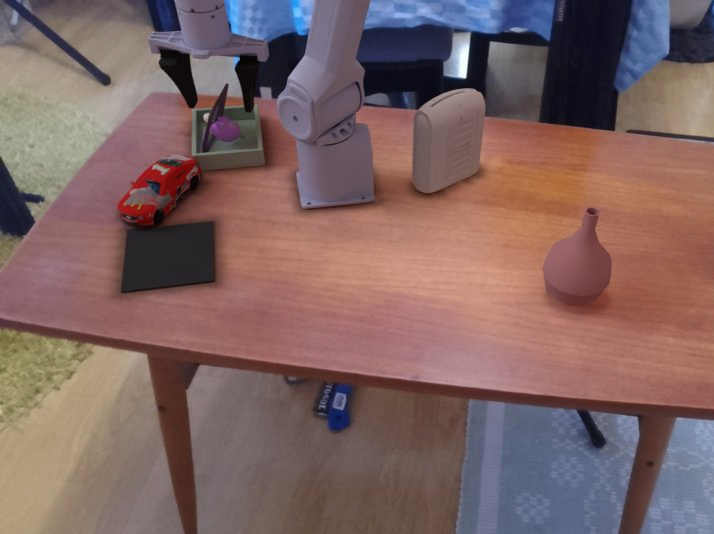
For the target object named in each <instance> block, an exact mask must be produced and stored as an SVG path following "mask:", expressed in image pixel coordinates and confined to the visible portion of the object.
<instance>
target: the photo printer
mask: <svg viewBox="0 0 714 534" xmlns="http://www.w3.org/2000/svg"><path fill="white" fill-rule="evenodd" d="M486 108H487V107H486V100H485V98H484V96H483V93H482V92H481V91H477V90H476V89H475V88H468V87H467V88H466V87H465V88H457V89H453V90H450V91H447V92H444V93H441V94H439V95H438V96H435V97H433V98H432V99H430V100H429V101H427V102H425V103H424V104H422V105H421V106H420V107H419V108H418V109H417V110H416V112H415V113H414V116H413V130H412V131H413V132H412V133H413V134H412V136H413V137H412V162H411V163H412V167H411V170H412V171H411V179H412V183H413V186H414V188H415V189H416V190H417V191H419V192H421V193H423V194H432V193H435V192H438V191H440V190H443V189H445V188H447V187H449V186H451V185H454V184H456V183H458V182H461V181H463V180H465V179H467V178H469V177H471V176H473V175H475V174H477V173H478V171H479V169H480V163H481V154H482V145H483V136H484V135H483V134H484V127H485V116H486Z"/></svg>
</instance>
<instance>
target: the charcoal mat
mask: <svg viewBox="0 0 714 534" xmlns="http://www.w3.org/2000/svg"><path fill="white" fill-rule="evenodd" d="M214 243H215V242H214V221H213V220H210V221H209V220H208V221H200V222H190V223H178V224H167V225H160V226H158V225H157V226H148V227H139V228H130V229H126V238H125V245H124V246H125V247H124V255H123V265H122V276H121V283H120V293H121V294H122V293H130V292H131V293H133V292H139V291H148V290H157V289H166V288H171V287H172V288H173V287H182V286H190V285H199V284H206V283H215V251H214V249H215V246H214Z"/></svg>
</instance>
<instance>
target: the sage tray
mask: <svg viewBox="0 0 714 534" xmlns="http://www.w3.org/2000/svg"><path fill="white" fill-rule="evenodd" d="M212 108H213V106H212V107H199V108H194V109H191V157H192V158H194V159H195V160H196V161H197V162H198V164H199V165H200V167H201V171H202V172H204V171H215V170H224V169H226V170H227V169H237V168H247V167H248V168H249V167H259V166H266V160H265V148H264V142H263V134H262V133H263V132H262V123H261V116H260V109H259V104H257V103H256V104H255V103H254V107H253V109H252V112H251V113H247V112H246V111H245V108H244V104H242V105H240V104H239V105H228V106H226V105H225V108H224V113H223V117H225V116H226V115H227V117H228V119H229V120H231V121H232V122H234V123H236V122H238V124H237V125H238V127H239V128H240V133H241V134H242V135H243V136H245V139H244V140H243V138H240V137H238V138H237V139H236V140H235V141H232V142H224V141H221V140H219V139H218V138H216V137H215V138H214V140H213V142H212V144H211V146H210V148H209V150H208V152H206V153H202V152H203V149H202V143H203V140H202V139H204V138H203V133H204V127H205V131H206V128H207V122H205V121H204V115H205V114H206V113H210V112H211V109H212ZM217 110H218V107H217V109H216V111H215V113H214V115H213V117H212V120H211V122H212V121H213V120H214V119H216V115H217ZM210 127H211V126H210ZM210 130H211V129H210ZM204 134H205V133H204ZM211 136H212V134H210V132H209V138H208V142H209V140H210V138H211ZM207 144H208V143H207Z"/></svg>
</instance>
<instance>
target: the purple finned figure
mask: <svg viewBox="0 0 714 534" xmlns="http://www.w3.org/2000/svg"><path fill="white" fill-rule="evenodd" d="M229 85H230V84H229V83H227V82H225V84H224V86H223V88H222V90H221V92H220V94H219V95H218V97H217V98H216V100H215V103H214V104H213V106H212V107H213V108H212V109H211V112H210V113H206V114H205V115H204V121H205V122H207V128H206V131H205V127H204V133H205V134H204V133H203V138H204V139H202V140H203V143H202V149H203V152H202V153H206V152H208V150H209V148H210V146H211V144H212V142H213V140H214V138H215V137H216V138H218V139H219V140H221V141H224V142H232V141H235V140H236V139H237V138H238V137H240V138H243V140H244V139H245V136H243V135H242V134H241V133H240V128H239V127H238V125H237V124H238V122H236V123H234V122H232V121H231V120H229V119H228V117H227V115H226V116H225V117H223V113H224V108H225V107H226V103H227V97H228V91H229V87H230V86H229ZM217 107H218V110H217V115H216V119H214V120H213V121H212V122H211V120H212V117H213V115H214V113H215V111H216V109H217ZM210 126H211V127H210ZM210 129H211V130H210ZM209 132H210V134H212V136H211V138H210V140H209V142H208V138H209ZM207 143H208V144H207Z"/></svg>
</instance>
